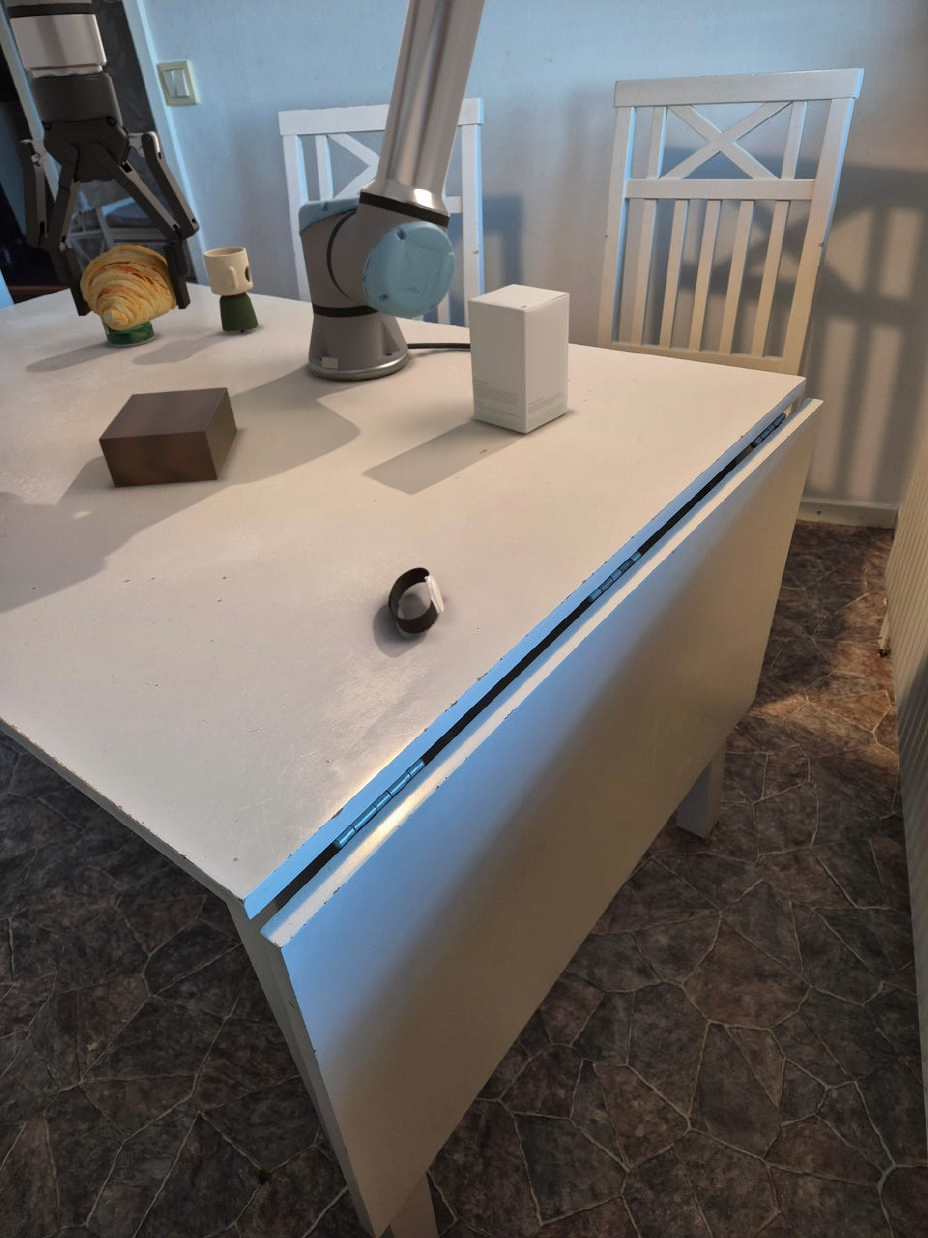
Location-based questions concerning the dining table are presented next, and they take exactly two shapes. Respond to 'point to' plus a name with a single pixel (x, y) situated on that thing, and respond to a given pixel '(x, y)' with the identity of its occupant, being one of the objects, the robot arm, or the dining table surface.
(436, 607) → the watch
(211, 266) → the character mug
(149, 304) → the croissant
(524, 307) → the white product box
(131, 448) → the walnut block
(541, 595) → the dining table surface
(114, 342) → the canned tomato
